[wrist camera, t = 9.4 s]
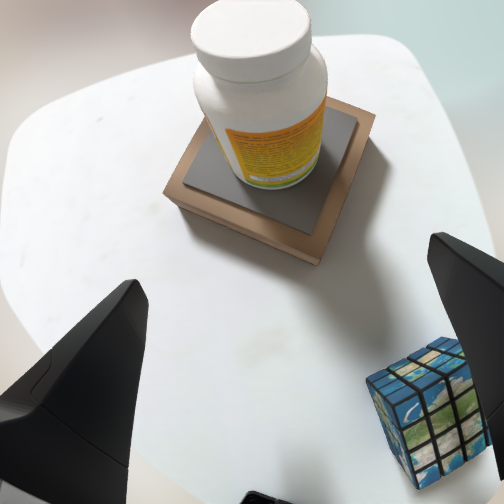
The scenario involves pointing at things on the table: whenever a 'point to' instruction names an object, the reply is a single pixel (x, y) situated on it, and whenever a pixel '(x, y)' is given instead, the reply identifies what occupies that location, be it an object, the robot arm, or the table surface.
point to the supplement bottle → (261, 88)
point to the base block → (280, 200)
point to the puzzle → (430, 411)
